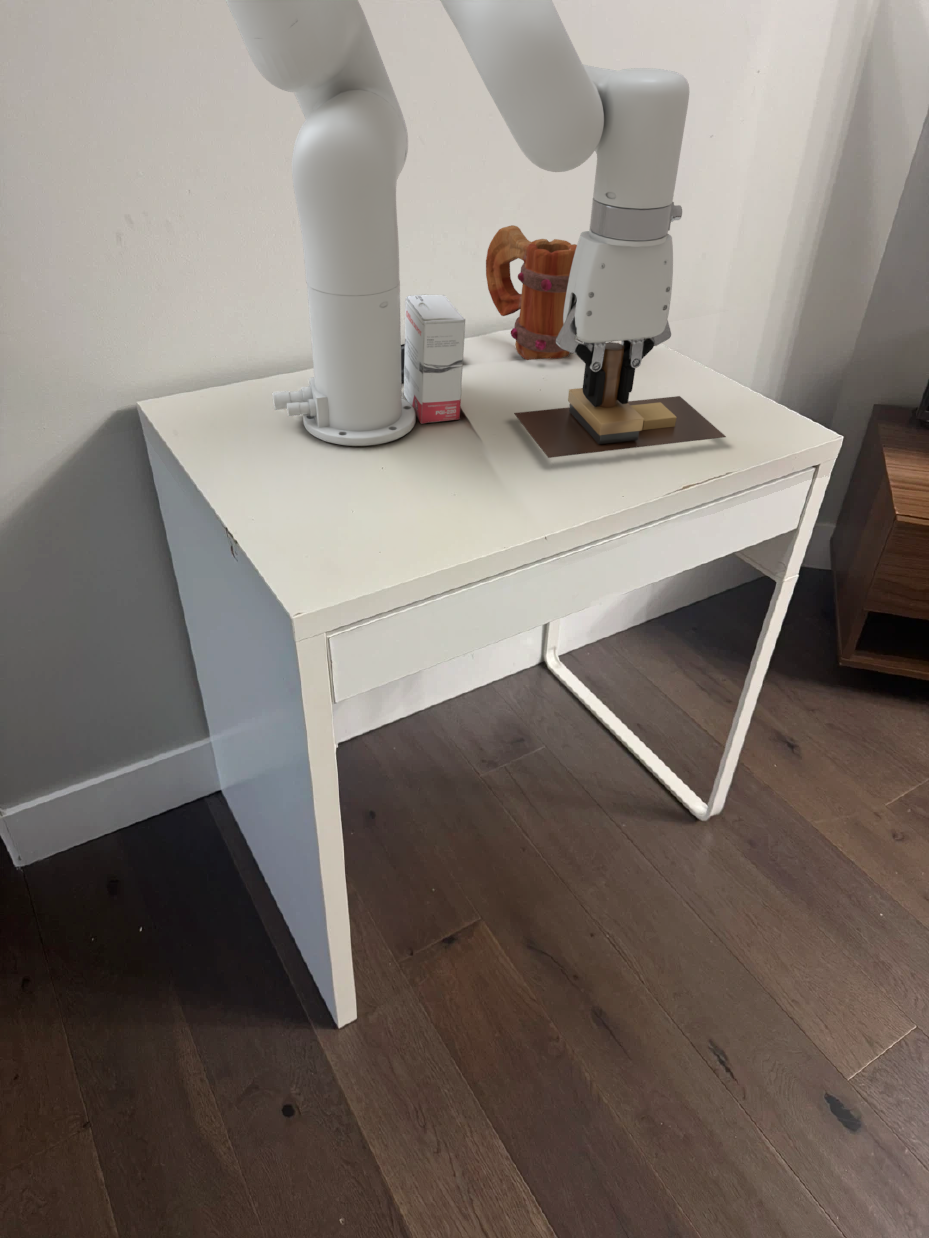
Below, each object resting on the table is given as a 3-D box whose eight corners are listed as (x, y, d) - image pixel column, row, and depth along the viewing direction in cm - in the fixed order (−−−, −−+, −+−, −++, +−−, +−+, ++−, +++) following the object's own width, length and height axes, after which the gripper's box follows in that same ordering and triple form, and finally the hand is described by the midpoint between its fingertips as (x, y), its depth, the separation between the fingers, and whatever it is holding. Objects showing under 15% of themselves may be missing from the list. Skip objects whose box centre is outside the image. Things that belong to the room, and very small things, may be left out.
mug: (590, 359, 116) (604, 239, 107) (551, 376, 111) (562, 252, 102) (507, 329, 124) (513, 216, 115) (467, 344, 119) (471, 226, 110)
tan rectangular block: (642, 430, 97) (644, 420, 97) (627, 415, 100) (628, 405, 100) (675, 426, 98) (676, 417, 97) (658, 411, 101) (660, 402, 100)
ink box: (463, 421, 101) (466, 317, 93) (420, 425, 99) (420, 320, 92) (442, 390, 107) (444, 291, 100) (402, 394, 106) (401, 294, 98)
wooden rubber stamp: (597, 446, 94) (608, 364, 88) (566, 410, 100) (574, 333, 95) (640, 441, 95) (653, 360, 89) (606, 406, 102) (617, 329, 96)
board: (547, 467, 92) (548, 457, 92) (513, 422, 101) (513, 412, 100) (724, 446, 97) (726, 436, 97) (678, 405, 106) (679, 395, 105)
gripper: (686, 207, 89) (657, 380, 101) (537, 214, 85) (524, 393, 97) (723, 226, 84) (688, 407, 95) (566, 235, 80) (548, 422, 91)
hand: (606, 399), depth 96 cm, fingers closed on wooden rubber stamp, 2 cm apart
